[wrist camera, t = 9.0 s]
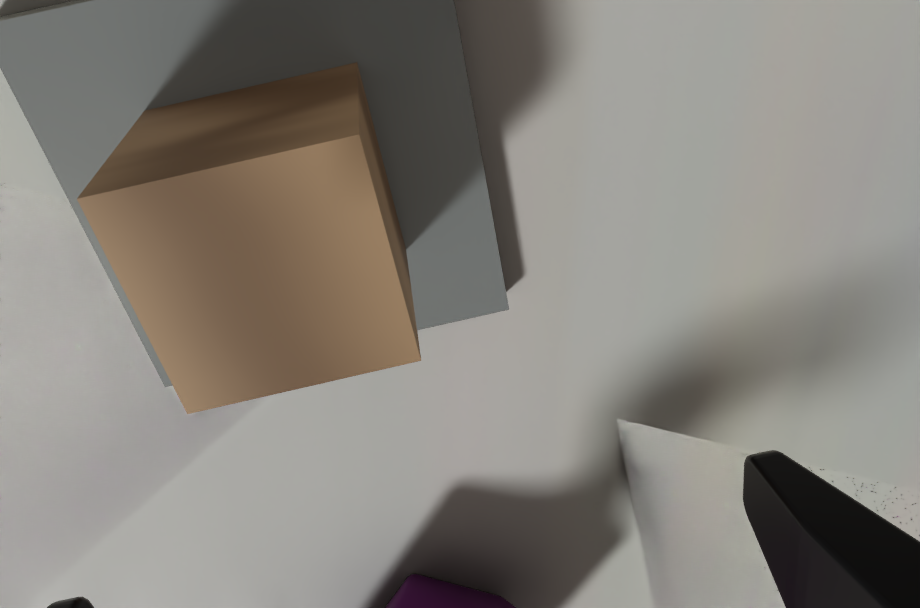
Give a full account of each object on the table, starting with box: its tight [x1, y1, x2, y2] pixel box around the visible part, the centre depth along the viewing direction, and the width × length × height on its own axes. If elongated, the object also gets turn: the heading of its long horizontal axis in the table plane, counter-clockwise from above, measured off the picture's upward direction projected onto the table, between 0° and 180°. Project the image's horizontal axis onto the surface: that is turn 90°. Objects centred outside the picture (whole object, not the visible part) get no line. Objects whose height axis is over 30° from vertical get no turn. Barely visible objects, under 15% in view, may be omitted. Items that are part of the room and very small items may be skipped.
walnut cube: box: [77, 62, 421, 414], centre depth 16 cm, size 5×5×5 cm
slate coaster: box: [0, 0, 509, 387], centre depth 19 cm, size 10×10×1 cm
